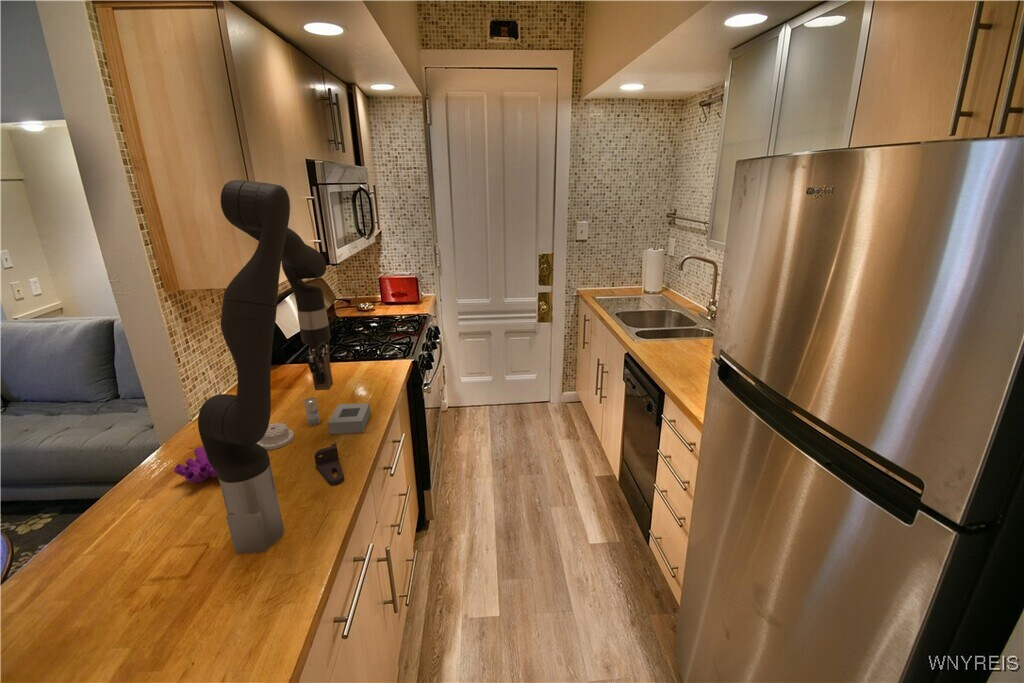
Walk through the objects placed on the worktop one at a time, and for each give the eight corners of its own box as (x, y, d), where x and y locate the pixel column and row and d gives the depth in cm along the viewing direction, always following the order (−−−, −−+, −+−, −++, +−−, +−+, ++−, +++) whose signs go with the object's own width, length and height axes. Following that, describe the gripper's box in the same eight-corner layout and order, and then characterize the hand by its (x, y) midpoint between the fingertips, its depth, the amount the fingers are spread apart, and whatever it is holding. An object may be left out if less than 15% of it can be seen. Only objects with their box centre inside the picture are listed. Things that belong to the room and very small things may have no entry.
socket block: (363, 432, 137) (361, 421, 136) (329, 434, 136) (327, 422, 135) (370, 413, 148) (369, 403, 147) (339, 415, 147) (338, 404, 146)
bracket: (320, 490, 111) (318, 473, 110) (315, 464, 122) (312, 448, 120) (345, 483, 114) (343, 466, 112) (338, 458, 124) (335, 443, 123)
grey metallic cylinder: (318, 425, 141) (314, 402, 139) (306, 425, 141) (302, 403, 138) (321, 419, 145) (317, 397, 142) (309, 420, 144) (306, 397, 142)
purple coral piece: (236, 469, 125) (251, 446, 122) (200, 505, 111) (216, 480, 108) (199, 448, 123) (213, 423, 120) (157, 482, 109) (172, 455, 106)
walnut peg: (329, 389, 129) (324, 357, 126) (315, 390, 129) (309, 358, 125) (333, 383, 133) (328, 352, 130) (319, 384, 133) (313, 353, 129)
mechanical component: (248, 448, 129) (278, 452, 127) (245, 435, 128) (276, 439, 126) (272, 431, 138) (301, 434, 136) (270, 418, 137) (298, 421, 135)
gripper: (320, 332, 118) (330, 390, 124) (334, 316, 131) (342, 369, 137) (291, 333, 117) (301, 391, 123) (308, 317, 131) (317, 370, 137)
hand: (323, 379), depth 130 cm, fingers closed on walnut peg, 4 cm apart
